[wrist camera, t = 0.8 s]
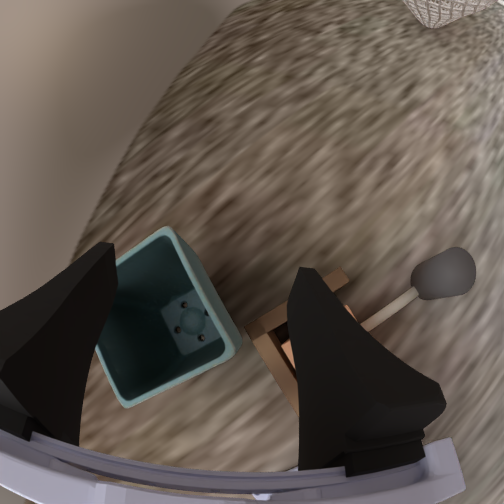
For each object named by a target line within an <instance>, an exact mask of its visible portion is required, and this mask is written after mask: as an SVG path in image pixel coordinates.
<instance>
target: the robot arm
mask: <svg viewBox="0 0 504 504" xmlns="http://www.w3.org/2000/svg"><path fill="white" fill-rule="evenodd" d="M117 287H118V276H117V268H116V259H115V249H114V244H113V243H106V242H99V243H98V244H96V245H95V246H94V247H92V248H91V249H90V250H88V251H87V252H86V253H85V254H83V255H82V256H81V257H80V258H78V259H77V260H76V261H75V262H73V263H72V264H71V265H70V266H68V267H67V268H66V269H65V270H63V271H62V272H61V273H59V274H58V275H57V276H55V277H54V278H53V279H51V280H50V281H49V282H47V283H46V284H45V285H43V286H42V287H40V288H39V289H37V290H36V291H34V292H32V293H31V294H29V295H28V296H26V297H24V298H23V299H21V300H19V301H17V302H15V303H14V304H12V305H10V306H8V307H6V308H5V309H3V310H0V485H1V486H3V487H5V488H7V489H8V490H10V491H12V492H14V493H16V494H18V495H20V496H22V497H24V498H27V499H29V500H31V501H33V502H35V503H38V504H437V503H439V502H441V501H444V500H446V499H448V498H450V497H452V496H455V495H457V494H459V493H461V492H463V491H465V490H466V485H465V482H464V478H463V474H462V471H461V467H460V464H459V460H458V457H457V454H456V450H455V447H454V444H453V441H452V438H451V437H448V438H444V439H441V440H438V441H434V442H431V443H428V444H426V445H424V446H423V445H422V442H421V439H423V438H424V437H425V434H424V431H423V429H424V428H425V427H426V426H427V425H429V424H430V423H431V422H432V421H434V420H435V419H436V418H437V417H438V416H440V415H441V414H442V413H443V411H444V410H445V408H446V404H447V403H446V400H445V398H444V395H443V393H442V390H441V388H440V385H439V383H437V382H435V381H433V380H432V379H430V378H428V377H426V376H424V375H423V374H421V373H419V372H418V371H416V370H414V369H413V368H412V367H410V366H409V365H407V364H406V363H404V362H403V361H401V360H400V359H399V358H397V357H396V356H395V355H393V354H392V353H391V352H390V351H388V350H387V349H386V348H385V347H384V346H382V345H381V344H380V343H379V342H378V341H377V340H376V339H375V338H373V337H372V336H371V335H370V334H369V333H368V332H367V331H366V330H365V329H364V328H363V327H362V326H361V325H360V324H359V323H358V322H357V320H356V319H355V318H354V317H353V316H352V315H351V314H350V313H349V311H348V310H347V309H346V308H345V307H344V306H343V304H342V303H341V302H340V301H339V299H338V298H337V297H336V296H335V294H334V293H333V292H332V291H331V289H330V288H329V287H328V285H327V284H326V283H325V282H324V280H323V279H322V278H321V276H320V275H319V274H318V273H317V271H316V270H315V269H313V268H305V267H299V270H298V273H297V276H296V279H295V281H294V284H293V287H292V290H291V293H290V296H289V299H288V302H287V325H288V332H289V337H290V343H291V348H292V354H293V359H294V364H295V370H296V376H297V384H298V401H299V459H298V466H297V467H295V468H293V469H290V470H288V471H286V472H228V471H211V470H198V469H188V468H180V467H172V466H165V465H158V464H152V463H146V462H140V461H135V460H130V459H125V458H121V457H116V456H112V455H108V454H103V453H99V452H96V451H92V450H88V449H85V448H81V447H79V435H80V422H81V413H82V406H83V399H84V393H85V387H86V382H87V377H88V373H89V368H90V364H91V360H92V357H93V354H94V350H95V348H96V345H97V343H98V340H99V337H100V335H101V332H102V330H103V327H104V325H105V322H106V320H107V318H108V315H109V313H110V310H111V308H112V305H113V302H114V298H115V295H116V291H117ZM83 470H84V471H83ZM86 471H88V472H86ZM89 472H91V473H95V474H98V475H102V476H106V477H110V478H114V479H119V480H123V481H128V482H133V483H138V484H143V485H149V486H155V487H161V488H168V489H176V490H185V491H194V492H207V493H224V494H252V495H253V496H254V497H255V499H256V500H251V499H244V498H230V497H213V496H199V495H188V494H179V493H171V492H164V491H157V490H151V489H145V488H140V487H135V486H130V485H124V484H119V483H114V482H106V481H99V480H98V479H97V477H96V476H95V475H94V474H91V473H89Z"/></svg>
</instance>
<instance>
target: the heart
mask: <svg viewBox="0 0 504 504" xmlns="http://www.w3.org/2000/svg"><path fill="white" fill-rule="evenodd" d="M402 1H403V2H404V3H405V4H406V6H407V7H408V8H409V9H410V11H411V12H412V13H413V14H414V16H415V17H416V18H417V19H418V20H419V21H420V22H421V23H422V24H423V25H424V26H426V27H429V28H439V27H442V26H444V25H446V24H449V23H451V22H453V21H455V20H457V19H459V18H461V17H464V16H466V15H470V14H473V13H476V12H478V11H480V10H483V9H486V8H487V7H489V6H490V5H492V4H493V3H495V2H496V1H497V0H475V1H473V0H462V1H460V0H445V2H443V1H441V0H435V2H436V1H438V4H437V3H435V2H432V0H430V1H429V0H414V1H413V0H402ZM447 1H449V3H448V4H447V3H446V2H447ZM472 1H473V2H472ZM422 2H423V3H422ZM420 3H421V4H420ZM425 3H426V6H425ZM441 3H442V4H443V5H441ZM456 3H457V4H458V5H456V6H455V7H454V5H455V4H456ZM423 4H424V5H423ZM445 5H446V6H445ZM460 5H462V6H460ZM430 6H432V7H433V8H435V9H433V8H430ZM435 6H436V7H435ZM459 6H460V7H459ZM458 7H459V8H458ZM421 8H422V9H421ZM424 9H425V10H424ZM442 9H445V10H442ZM447 9H448V10H447ZM446 10H447V11H446ZM432 11H433V12H435V13H433V12H432ZM453 11H454V12H453ZM457 11H458V12H457ZM436 13H438V14H436ZM443 14H444V15H443ZM432 15H434V16H432ZM424 18H425V19H424Z"/></svg>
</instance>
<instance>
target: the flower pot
mask: <svg viewBox="0 0 504 504" xmlns="http://www.w3.org/2000/svg"><path fill="white" fill-rule="evenodd" d="M116 268H117V276H118V287H117V291H116V295H115V298H114V302H113V305H112V308H111V310H110V313H109V315H108V318H107V320H106V322H105V325H104V327H103V330H102V332H101V335H100V337H99V340H98V343H97V345H96V348H95V350H96V352H97V355H98V357H99V360H100V362H101V364H102V366H103V369H104V371H105V374H106V376H107V377H108V380H109V382H110V384H111V386H112V389H113V390H114V393H115V394H116V396H117V399H118V400H119V402H120V403H121V404H122V406H123V407H124V408H130V407H133V406H135V405H137V404H139V403H141V402H143V401H145V400H147V399H149V398H151V397H153V396H155V395H157V394H159V393H161V392H164V391H166V390H168V389H170V388H172V387H174V386H176V385H178V384H180V383H182V382H184V381H186V380H188V379H190V378H193V377H194V376H197V375H199V374H201V373H203V372H205V371H207V370H209V369H211V368H213V367H215V366H217V365H219V364H222V363H224V362H226V361H227V360H229V359H231V358H232V357H233V356H234V355H235V354H236V352H237V351H238V350H239V348H240V347H241V345H242V337H241V335H240V333H239V331H238V329H237V327H236V326H235V324H234V322H233V321H232V319H231V317H230V315H229V314H228V312H227V310H226V308H225V306H224V305H223V303H222V301H221V299H220V297H219V296H218V294H217V292H216V290H215V288H214V286H213V284H212V283H211V281H210V279H209V277H208V275H207V273H206V271H205V269H204V267H203V265H202V263H201V261H200V260H199V258H198V256H197V255H196V253H195V252H194V251H193V250H192V249H191V248H190V246H189V245H188V244H187V243H186V242H185V241H184V240H183V239H182V238H181V237H180V236H179V235H178V234H177V233H176V232H175V231H174V230H173V229H172V228H171V227H169V226H165V227H163V228H161V229H159V230H158V231H156V232H155V233H153V234H152V235H151V236H149V237H147V238H146V239H145V240H144V241H142V242H141V243H139V244H138V245H137V246H135V247H134V248H132V249H131V250H129V251H128V252H126V253H125V254H124V255H122V256H121V257H120V258H118V259H117V260H116ZM184 302H186V303H187V307H186V308H183V306H182V304H183V303H184ZM206 311H207V312H208V314H209V315H207V314H206ZM177 327H180V328H181V332H180V333H177V332H176V328H177ZM200 335H204V337H205V339H204V340H203V341H201V340H200V339H199V336H200Z"/></svg>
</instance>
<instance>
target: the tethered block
mask: <svg viewBox="0 0 504 504" xmlns="http://www.w3.org/2000/svg"><path fill="white" fill-rule="evenodd" d="M475 278H476V266H475V263H474V260H473V258H472V257H471V255H470V254H469V253H468V252H467V251H466V250H464V249H462V248H459V247H452V248H449V249H447V250H446V251H444V252H442V253H440V254H438V255H436V256H434V257H432V258H430V259H428V260H426V261H424V262H422V263H421V264H419V265H417V266H416V267H415V269H414V270H413V272H412V275H411V286H412V287H411V288H410V289H409V290H408V291H406V292H405V293H403V294H402V295H401V296H399V297H398V298H397V299H395V300H394V301H393V302H391V303H390V304H388V305H387V306H386V307H384V308H383V309H381V310H380V311H378V312H377V313H376V314H374V315H373V316H371V317H370V318H368V319H367V320H365V321H364V322H362V323H361V324H360V325H361V326H362V327H363V328H364V329H365V330H366V331H367V332H369V331H370V330H372V329H373V328H375V327H376V326H378V325H379V324H380V323H382V322H383V321H385V320H386V319H388V318H389V317H390V316H392V315H393V314H394V313H396V312H397V311H399V310H400V309H401V308H403V307H404V306H405V305H407V304H408V303H409V302H411V301H412V300H413V299H415V298H416V297H417V296H418V297H419V298H421V299H424V300H432V299H439V298H445V297H451V296H458V295H462V294H465V293H467V292H468V291H469V290H470V289H471V288H472V286H473V284H474V282H475ZM344 307H345V308H346V309H347V310H348V311H349V313H350V314H351V315H352V316H353V317H354V315H353V314H352V312H351V310H350V309H349V307H348V305H344ZM354 318H355V317H354ZM355 319H356V318H355ZM281 347H282V348H283V350H284V352H285V353H286V355H287V357H288V358H289V360H290V362H291V363H292V365H293V366H294V368H295V364H294V359H293V354H292V348H291V343H290V338H289V339H287V340H286V341H285V342H284V343H283V344H282V345H281Z"/></svg>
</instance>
